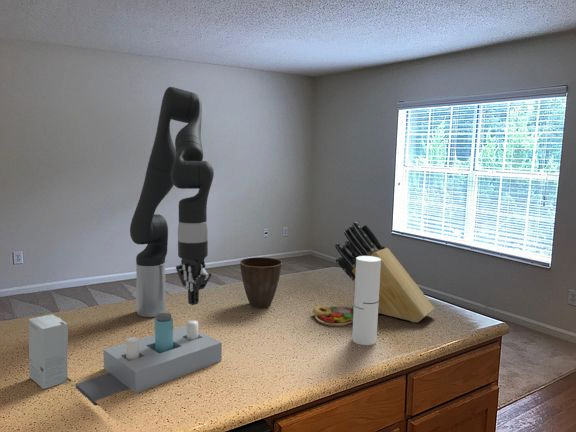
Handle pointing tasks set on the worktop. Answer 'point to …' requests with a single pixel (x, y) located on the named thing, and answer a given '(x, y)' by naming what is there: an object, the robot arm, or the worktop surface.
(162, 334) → the cartridge
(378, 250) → the knife block
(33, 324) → the skincare box
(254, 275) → the plant pot
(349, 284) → the worktop surface
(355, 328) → the cylindrical container
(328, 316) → the toy food set
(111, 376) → the mat
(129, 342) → the white rounded cylinder
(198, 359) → the housing
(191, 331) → the plunger inner
